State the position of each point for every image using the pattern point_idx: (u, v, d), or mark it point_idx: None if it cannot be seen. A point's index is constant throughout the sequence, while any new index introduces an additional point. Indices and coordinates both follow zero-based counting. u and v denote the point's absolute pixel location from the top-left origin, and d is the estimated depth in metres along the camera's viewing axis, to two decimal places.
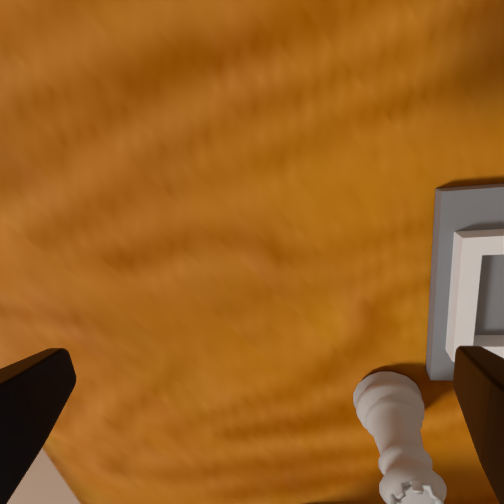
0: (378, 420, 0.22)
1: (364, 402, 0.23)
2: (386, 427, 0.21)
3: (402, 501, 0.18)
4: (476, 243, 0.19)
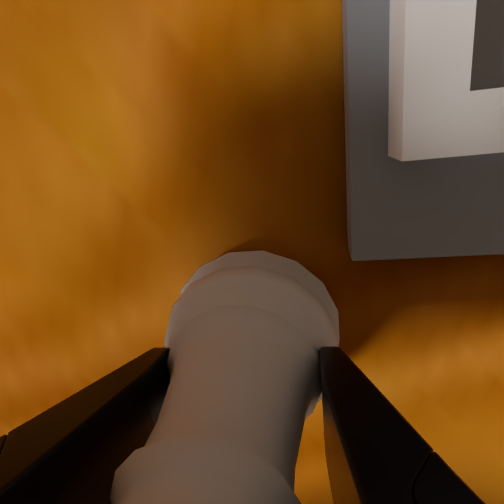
0: (178, 365, 0.07)
1: (172, 325, 0.08)
2: (180, 383, 0.06)
3: None
4: None
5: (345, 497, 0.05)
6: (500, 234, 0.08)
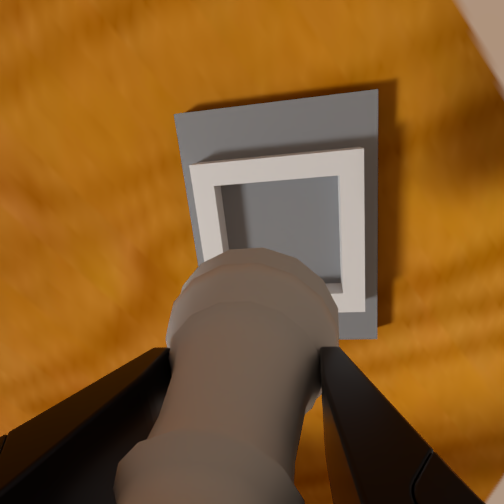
0: (179, 360, 0.07)
1: (173, 321, 0.09)
2: (182, 378, 0.06)
3: None
4: (204, 171, 0.16)
5: (345, 497, 0.05)
6: None
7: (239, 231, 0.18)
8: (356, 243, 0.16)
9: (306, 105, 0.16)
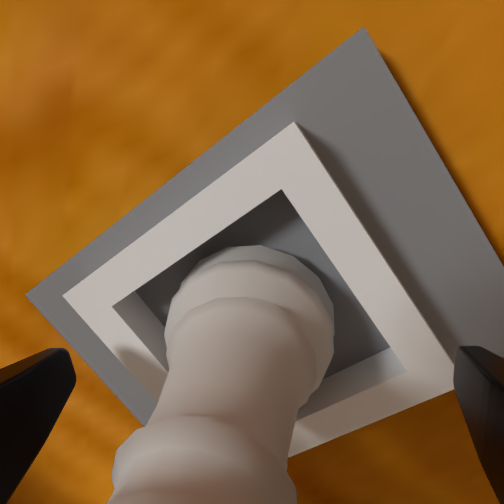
0: (177, 354, 0.07)
1: (172, 316, 0.09)
2: (179, 370, 0.07)
3: None
4: (298, 158, 0.08)
5: None
6: (97, 358, 0.12)
7: None
8: (316, 434, 0.10)
9: (480, 255, 0.09)
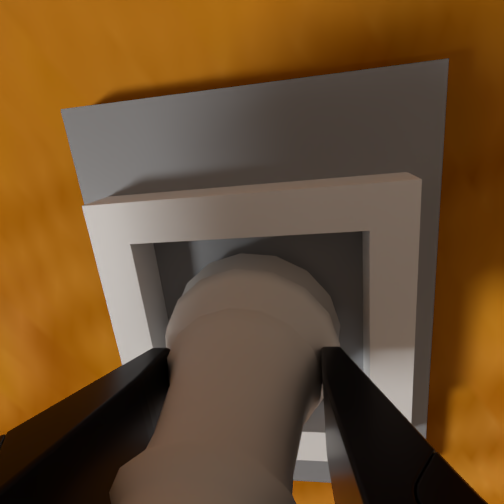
0: None
1: None
2: None
3: None
4: (111, 218, 0.09)
5: (347, 497, 0.05)
6: None
7: None
8: (398, 354, 0.09)
9: (304, 92, 0.08)
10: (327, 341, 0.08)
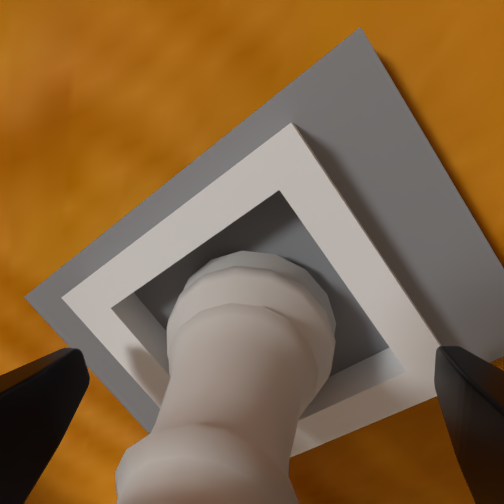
0: None
1: None
2: None
3: None
4: (296, 159, 0.08)
5: None
6: (96, 360, 0.12)
7: (221, 254, 0.10)
8: (315, 435, 0.10)
9: (479, 254, 0.09)
10: (323, 337, 0.08)
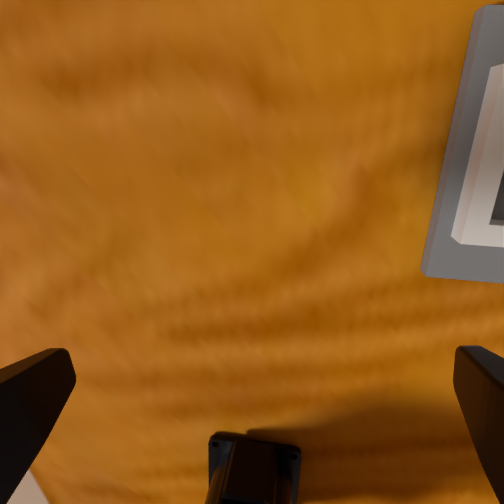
0: None
1: None
2: None
3: None
4: None
5: None
6: (490, 274, 0.18)
7: None
8: None
9: None
10: None
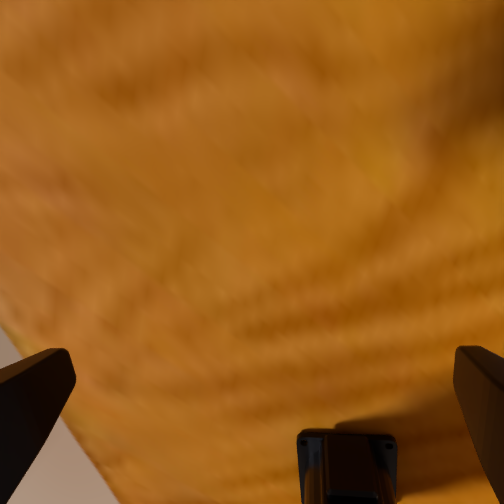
0: None
1: None
2: None
3: None
4: None
5: None
6: None
7: None
8: None
9: None
10: None
